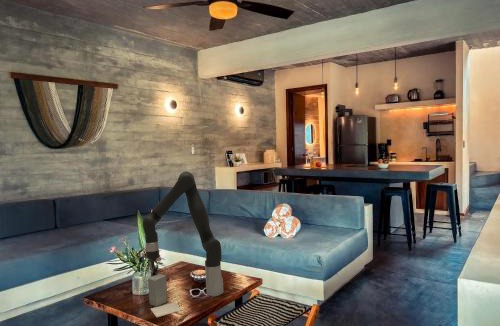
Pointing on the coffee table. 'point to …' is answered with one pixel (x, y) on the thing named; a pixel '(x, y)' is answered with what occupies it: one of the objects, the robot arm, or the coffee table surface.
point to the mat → (166, 309)
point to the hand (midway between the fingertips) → (154, 278)
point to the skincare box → (157, 290)
